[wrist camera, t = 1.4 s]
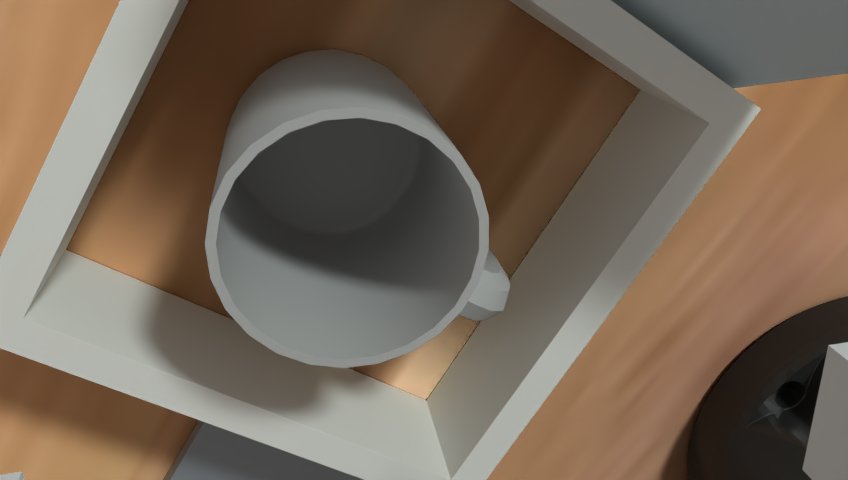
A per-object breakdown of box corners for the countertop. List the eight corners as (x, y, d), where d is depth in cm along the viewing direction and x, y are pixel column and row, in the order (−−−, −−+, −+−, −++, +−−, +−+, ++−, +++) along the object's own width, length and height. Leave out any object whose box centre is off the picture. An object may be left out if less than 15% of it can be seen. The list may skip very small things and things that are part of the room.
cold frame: (435, 431, 33) (555, 823, 19) (16, 263, 27) (-279, 664, 12) (772, -49, 27) (1320, -7, 13) (338, -414, 21) (476, -1125, 6)
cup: (296, 2, 25) (307, 45, 17) (521, 158, 28) (619, 254, 20) (187, 176, 26) (149, 292, 18) (413, 302, 30) (464, 444, 22)
